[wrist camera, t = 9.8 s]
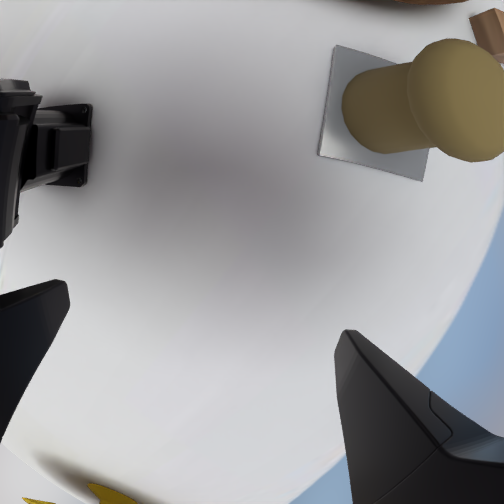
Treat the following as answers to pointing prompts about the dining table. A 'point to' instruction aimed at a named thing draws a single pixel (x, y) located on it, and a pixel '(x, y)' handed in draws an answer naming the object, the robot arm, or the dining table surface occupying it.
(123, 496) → the cake stand
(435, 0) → the ceramic pitcher
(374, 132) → the cork
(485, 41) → the walnut block
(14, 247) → the dining table surface
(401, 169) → the coaster
